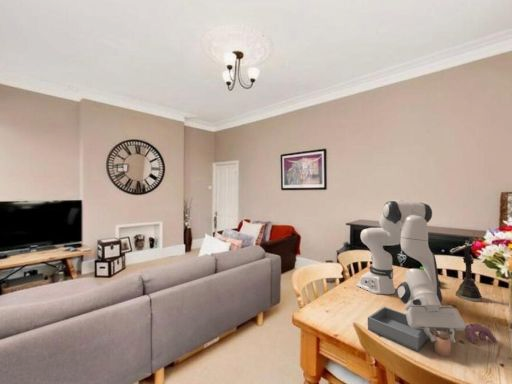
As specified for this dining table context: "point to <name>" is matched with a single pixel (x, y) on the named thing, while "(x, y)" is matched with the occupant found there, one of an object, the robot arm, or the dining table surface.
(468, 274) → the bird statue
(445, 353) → the jar
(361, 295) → the dining table surface
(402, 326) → the bin
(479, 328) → the purple animal figurine
